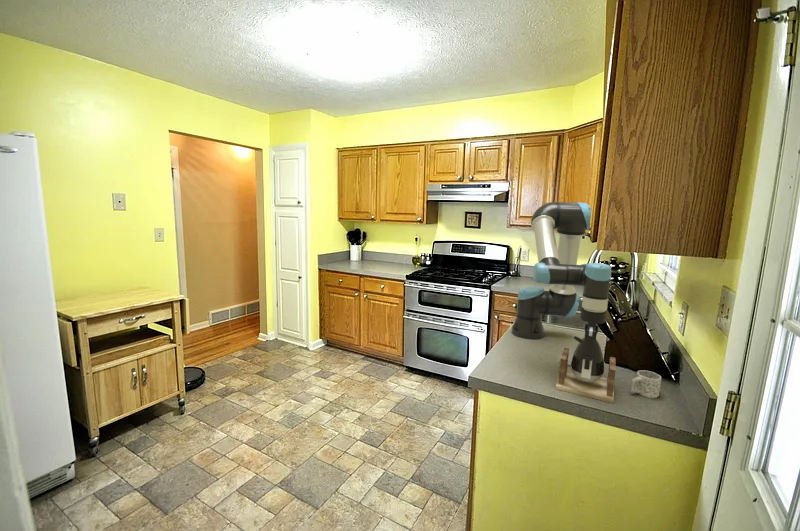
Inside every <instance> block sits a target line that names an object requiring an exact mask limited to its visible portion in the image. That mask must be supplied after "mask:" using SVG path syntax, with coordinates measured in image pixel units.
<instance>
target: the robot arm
mask: <svg viewBox="0 0 800 531" xmlns="http://www.w3.org/2000/svg"><path fill="white" fill-rule="evenodd" d="M591 208H592V207H591V206H590V204H588V203H587V202H579V201H574V202H573V201H572V202H571V201H566V202H565V201H551V202H547V203H544V204H542V205H541V206H539V207H538V208H537V209H536V210H535V211H534V212H533V214H532V216H531V219H530V226H531V230H532V231H533V232H534V238H535V246H536V254H537V262H536V263H535V264H534V266H533V280H534V282H536V283H538V284H544V285H550V286H549V288H548V290H545V288H544V287H541V286H524V287H522V288H520V289H519V290H518V294H517V304H516V305H517V306H516V315H515V316H516V317H515V319H514V322H513V324H512V327H511V334H513V335H514V336H517V337H519V338H522V339H528V340H540V339H543V338H544V337H545V329H544V326H543V322H542V320H543V319H542V318H543V315H545V316H553V317H554V316H555V317H565V318H566V317H570V318H571V317H573V316H575V315H576V313H577V311H578V309H579V305H580V301H581V307H582V308H581V309H580V314H579V315H580V320H581V321H583V322H586V323H585V325H584V338H585V339H586V341H585V350H584V356H583V357H581V359H583V364H582V373H581V377H584V378H588V379H590V376H591V368H592V359H593V358H592V355H593V346H594V341H595V340H597V334H598V333H599V325H597V324H604V323H605V322H606V319H607V312H606V311H607V310H608V304H609V293H610V292H609V291H610V287H611V286H610V284H611V278H612V267H611V266H610V265H609V264H605V263H598V262H589V263H581V264H577V263H578V258H579V250H580V244H581V238H582V237H583V236H585V235H586V231H588V230H591V228H590V218H591V212H592V209H591ZM555 229H556V233H557V234H558V236H559V240H558V245H557V241H556V240H557V239H556V234H555ZM574 286H575V287H577V286H578V287H580V286H581V287H583V289H582V297H580V295H579V293H578V292H577V289H575V287H574ZM589 356H590V357H589Z"/></svg>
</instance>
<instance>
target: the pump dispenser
mask: <svg viewBox="0 0 800 531" xmlns="http://www.w3.org/2000/svg"><path fill="white" fill-rule="evenodd" d="M572 338H573V340H575V341H577V342H578V344H577V346H576V348H575V350H574V352H573V354H572V359H571V363H570V367H571V370H572V371H573V373H574V375H575V376H576V377H577V378H578V379H580V380H582V381H585V382H595V381H598V380H599V379H600V378H601V377H603V375H604V374H605V358H604V353H603V350H602V347H601V345H600V342H599V341H598V339H596V340H595V341H594V346H593V355H592V358H593V359H592V368H591V376H590V379H588V378H584V377H581V373H582V364H583V359H581V357H583V356H584V350H585V341H586V339H585V337H583V338H580V337H578V336H577V335H574V336H573V337H572ZM589 357H590V356H589Z"/></svg>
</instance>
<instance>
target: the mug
mask: <svg viewBox="0 0 800 531" xmlns="http://www.w3.org/2000/svg"><path fill="white" fill-rule="evenodd" d="M661 383H662V376H661V375H660V374H658V373H656V372H654V371H650V370H645V369H644V370H641V369H640V370H637V373H636V377H634V378H632V379H631V380H630V385H629V386H630V387H629V388H630V392H632V393H637V395H640V396H641V397H646V398H649V399H657V397H658V396H660V389H661ZM658 398H659V397H658Z"/></svg>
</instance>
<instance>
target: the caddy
mask: <svg viewBox="0 0 800 531" xmlns="http://www.w3.org/2000/svg"><path fill="white" fill-rule="evenodd" d="M569 355H570V348H568V347H564V348H563V351H562V354H561V356H560V361H559V368H558V369H559V370H558V378H557V381H556V384H555V390H558V391H562V392H567V393H571V394H575V395H578V396H579V395H580V396H583V397H587V398H591V399H594V400H599V401H603V402H606V403H611V404H614V402H615V401H614V400H615V397H614V396H615V395H614V394H615V393H614V392H615V379H616V378H615V377H616V370H617V369H616V365H617V364H616V357H613V356H610V357H609V363H608V370H607V377H603V376H602V377H601V378H600V379H599V380H598V381H595V382H585V381H582V380H580V379H578V378H577V377H576V376H575V375H574V373H573V371H572V369H568V365H569V357H570V356H569Z"/></svg>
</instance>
